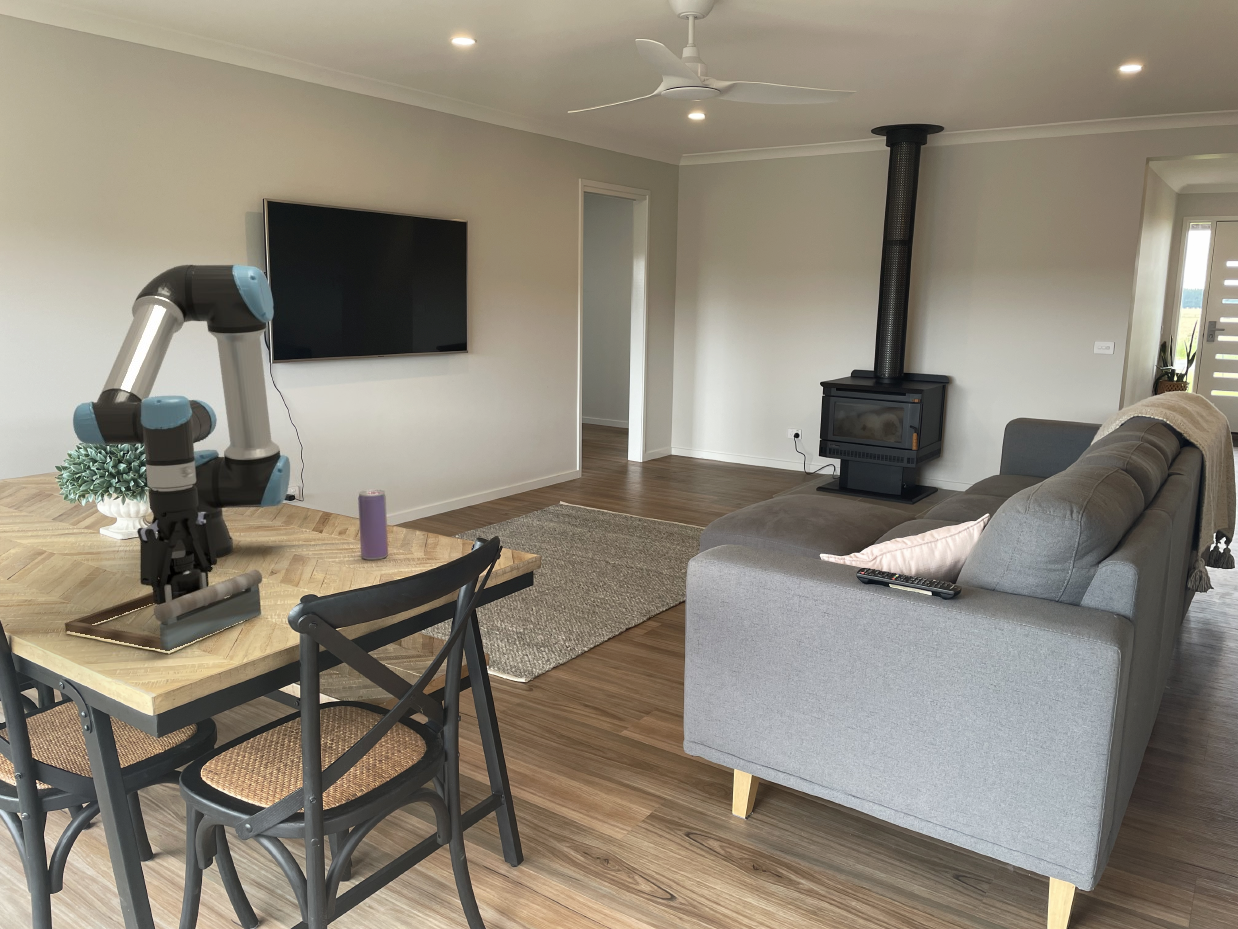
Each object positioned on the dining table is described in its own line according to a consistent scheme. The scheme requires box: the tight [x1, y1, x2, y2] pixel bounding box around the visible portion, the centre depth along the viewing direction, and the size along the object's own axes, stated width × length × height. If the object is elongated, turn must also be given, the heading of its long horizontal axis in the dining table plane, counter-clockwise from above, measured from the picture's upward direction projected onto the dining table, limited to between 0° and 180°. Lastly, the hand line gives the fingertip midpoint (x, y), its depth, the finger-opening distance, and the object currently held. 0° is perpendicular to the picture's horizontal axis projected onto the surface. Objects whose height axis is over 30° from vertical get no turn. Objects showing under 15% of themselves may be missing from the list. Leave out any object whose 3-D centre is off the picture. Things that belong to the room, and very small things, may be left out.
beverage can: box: [357, 489, 389, 561], centre depth 198 cm, size 6×6×15 cm
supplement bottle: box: [166, 551, 204, 617], centre depth 154 cm, size 7×7×12 cm
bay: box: [64, 569, 263, 651], centre depth 156 cm, size 24×21×8 cm
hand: (183, 613), depth 155 cm, fingers closed on supplement bottle, 7 cm apart
